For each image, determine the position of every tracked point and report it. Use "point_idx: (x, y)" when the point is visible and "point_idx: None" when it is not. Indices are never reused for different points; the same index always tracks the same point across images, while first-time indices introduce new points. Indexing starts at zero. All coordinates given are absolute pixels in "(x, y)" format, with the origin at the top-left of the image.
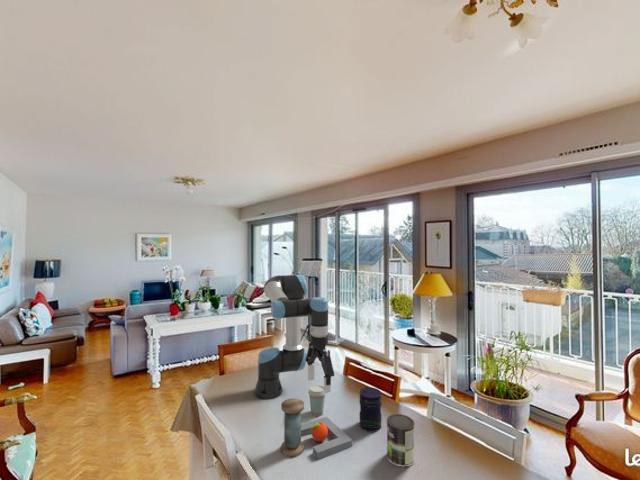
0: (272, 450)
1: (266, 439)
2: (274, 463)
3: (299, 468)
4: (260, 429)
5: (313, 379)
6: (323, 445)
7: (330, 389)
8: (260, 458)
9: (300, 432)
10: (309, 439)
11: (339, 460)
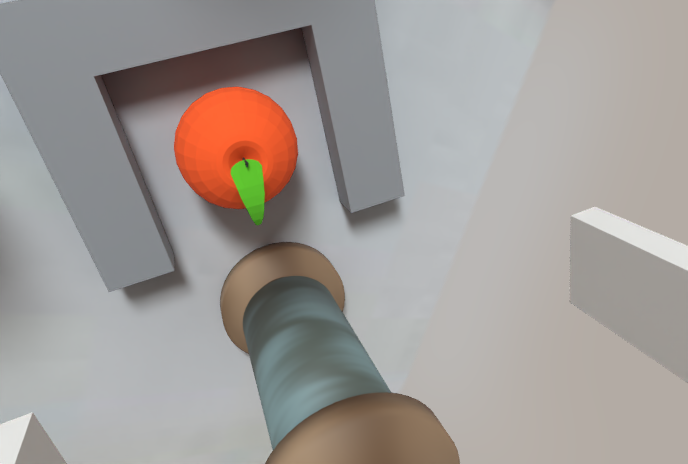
0: None
1: (162, 418)
2: None
3: (415, 274)
4: None
5: (41, 427)
6: (358, 150)
7: (627, 221)
8: None
9: (330, 309)
10: None
11: (434, 75)
